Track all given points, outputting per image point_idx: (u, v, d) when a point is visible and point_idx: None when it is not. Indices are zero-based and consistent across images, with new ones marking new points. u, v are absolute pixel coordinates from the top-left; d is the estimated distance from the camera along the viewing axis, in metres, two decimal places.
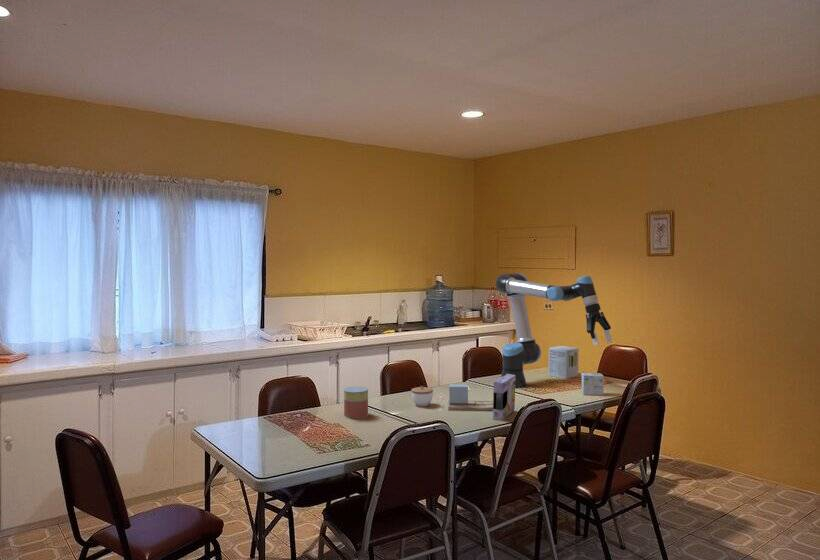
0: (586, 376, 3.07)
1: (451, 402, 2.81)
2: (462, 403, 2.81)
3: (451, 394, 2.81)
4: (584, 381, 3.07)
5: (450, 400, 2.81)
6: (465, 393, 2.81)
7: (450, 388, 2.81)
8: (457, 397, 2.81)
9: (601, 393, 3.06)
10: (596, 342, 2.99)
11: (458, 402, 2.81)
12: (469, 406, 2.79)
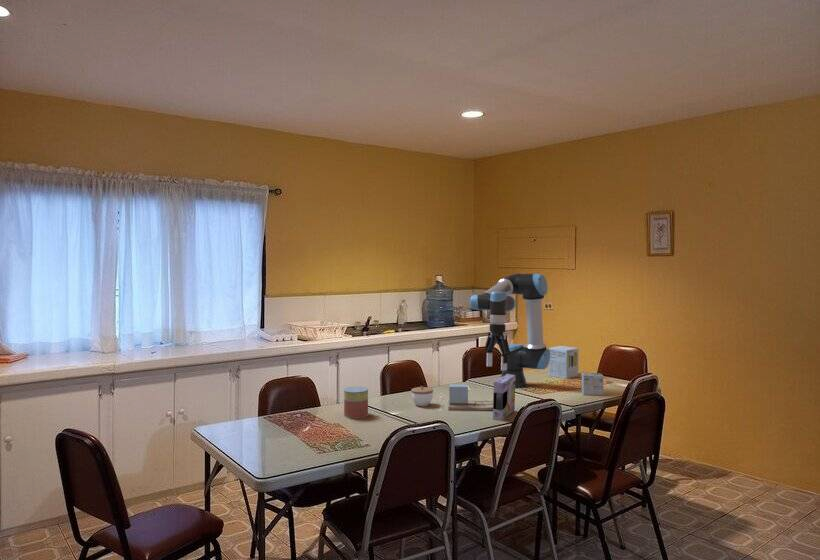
0: (586, 376, 3.07)
1: (451, 402, 2.81)
2: (462, 403, 2.81)
3: (451, 394, 2.81)
4: (584, 381, 3.07)
5: (450, 400, 2.81)
6: (465, 393, 2.81)
7: (450, 388, 2.81)
8: (457, 397, 2.81)
9: (601, 393, 3.06)
10: None
11: (458, 402, 2.81)
12: (469, 406, 2.79)
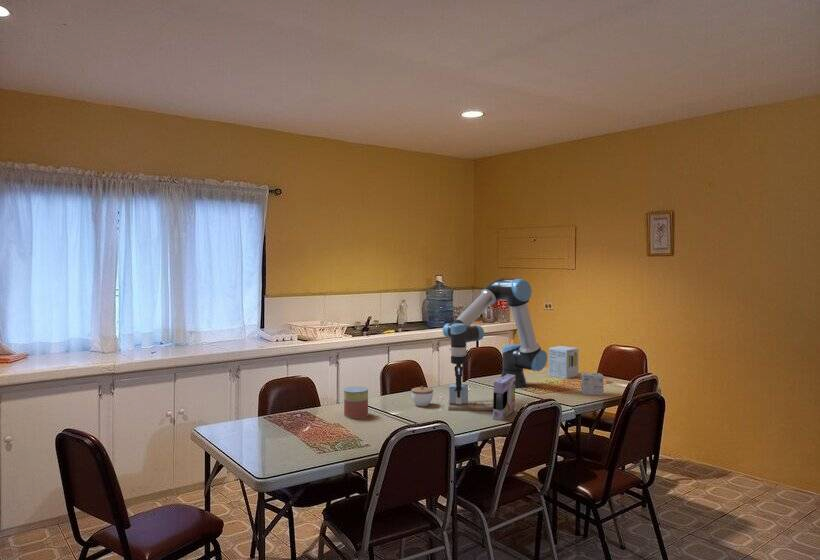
0: (586, 376, 3.07)
1: (451, 402, 2.81)
2: (462, 403, 2.81)
3: (451, 394, 2.81)
4: (584, 381, 3.07)
5: (450, 400, 2.81)
6: (465, 393, 2.81)
7: (450, 388, 2.81)
8: None
9: (601, 393, 3.06)
10: None
11: None
12: (469, 406, 2.79)
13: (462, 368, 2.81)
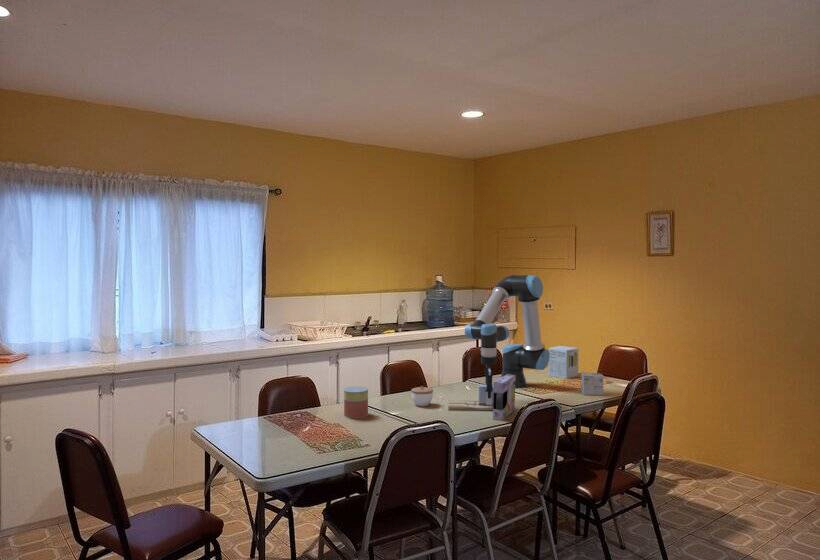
0: (586, 376, 3.07)
1: (481, 402, 2.81)
2: (492, 403, 2.80)
3: (481, 394, 2.80)
4: (584, 381, 3.07)
5: (479, 400, 2.81)
6: None
7: (480, 388, 2.80)
8: None
9: (601, 393, 3.06)
10: None
11: None
12: (469, 406, 2.79)
13: (492, 369, 2.80)
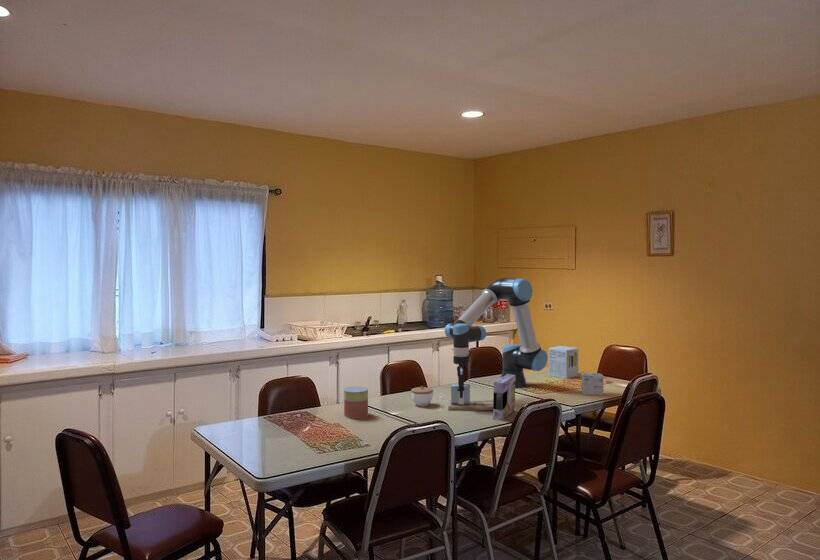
0: (586, 376, 3.07)
1: (453, 402, 2.81)
2: (464, 403, 2.81)
3: (453, 394, 2.81)
4: (584, 381, 3.07)
5: (452, 399, 2.81)
6: (467, 393, 2.81)
7: (452, 388, 2.81)
8: None
9: (601, 393, 3.06)
10: None
11: None
12: (469, 406, 2.79)
13: (464, 368, 2.81)
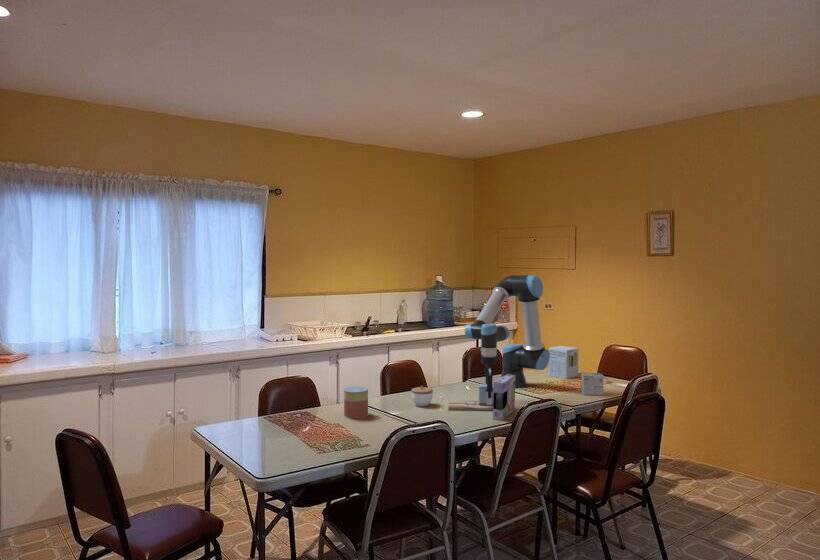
0: (586, 376, 3.07)
1: (481, 402, 2.81)
2: (492, 403, 2.80)
3: (481, 394, 2.80)
4: (584, 381, 3.07)
5: (480, 400, 2.81)
6: None
7: (480, 388, 2.80)
8: None
9: (601, 393, 3.06)
10: None
11: None
12: (469, 406, 2.79)
13: None
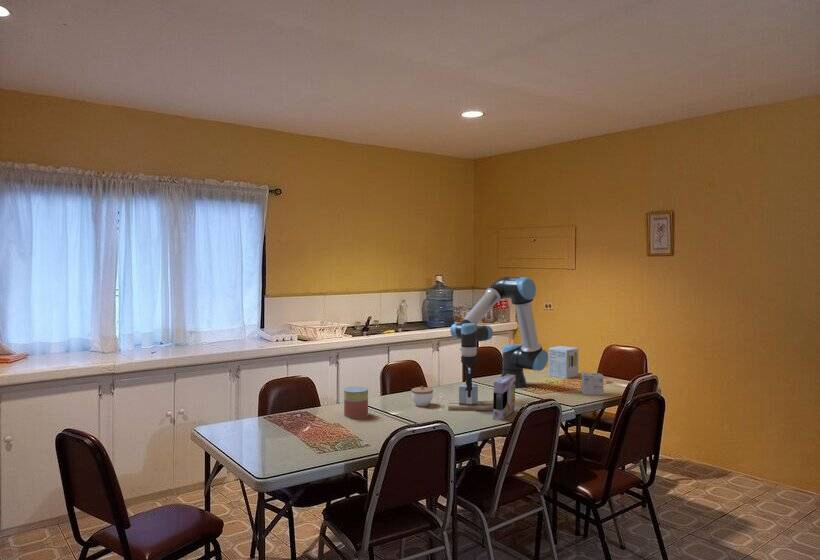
0: (586, 376, 3.07)
1: (461, 402, 2.81)
2: (472, 403, 2.81)
3: (461, 394, 2.81)
4: (584, 381, 3.07)
5: (459, 400, 2.81)
6: (475, 393, 2.81)
7: (460, 388, 2.81)
8: None
9: (601, 393, 3.06)
10: None
11: None
12: (469, 406, 2.79)
13: (472, 368, 2.81)
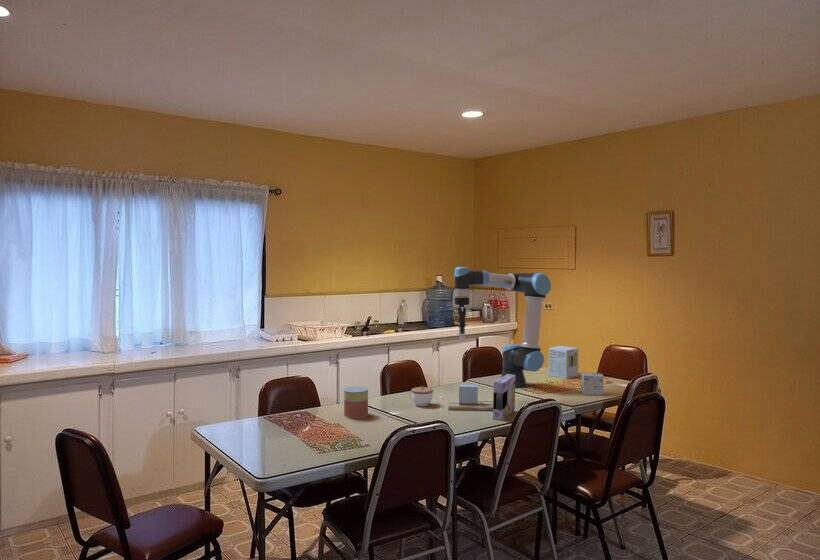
0: (586, 376, 3.07)
1: (461, 402, 2.81)
2: (472, 403, 2.81)
3: (461, 394, 2.81)
4: (584, 381, 3.07)
5: (459, 400, 2.81)
6: (475, 393, 2.81)
7: (460, 388, 2.81)
8: (467, 397, 2.81)
9: (601, 393, 3.06)
10: None
11: (468, 402, 2.81)
12: (469, 406, 2.79)
13: (465, 308, 2.96)
